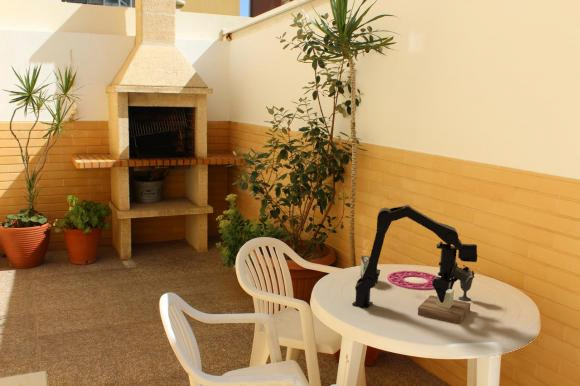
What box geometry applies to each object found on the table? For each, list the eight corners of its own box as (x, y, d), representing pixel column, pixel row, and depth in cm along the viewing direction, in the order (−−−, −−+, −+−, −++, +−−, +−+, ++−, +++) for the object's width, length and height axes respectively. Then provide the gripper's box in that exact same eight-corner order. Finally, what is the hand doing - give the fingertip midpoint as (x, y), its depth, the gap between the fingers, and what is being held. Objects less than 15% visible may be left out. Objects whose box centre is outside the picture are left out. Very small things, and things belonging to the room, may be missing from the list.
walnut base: (459, 323, 209) (460, 316, 209) (417, 314, 217) (418, 307, 217) (470, 310, 223) (470, 303, 222) (429, 302, 231) (430, 295, 230)
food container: (376, 284, 251) (377, 263, 249) (362, 284, 251) (363, 262, 249) (373, 276, 263) (374, 255, 261) (360, 275, 263) (361, 254, 261)
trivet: (395, 290, 245) (395, 288, 245) (381, 272, 270) (381, 270, 270) (451, 290, 247) (451, 288, 247) (433, 272, 272) (433, 270, 271)
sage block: (449, 308, 216) (450, 293, 215) (436, 305, 219) (437, 290, 218) (452, 304, 220) (454, 289, 219) (440, 301, 223) (441, 287, 222)
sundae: (454, 300, 234) (457, 265, 232) (458, 295, 240) (460, 261, 238) (471, 303, 231) (474, 267, 229) (474, 298, 237) (477, 263, 235)
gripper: (463, 269, 205) (460, 310, 207) (475, 257, 221) (472, 296, 223) (433, 264, 210) (430, 304, 213) (446, 253, 226) (443, 290, 229)
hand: (445, 299), depth 219 cm, fingers open, 9 cm apart
